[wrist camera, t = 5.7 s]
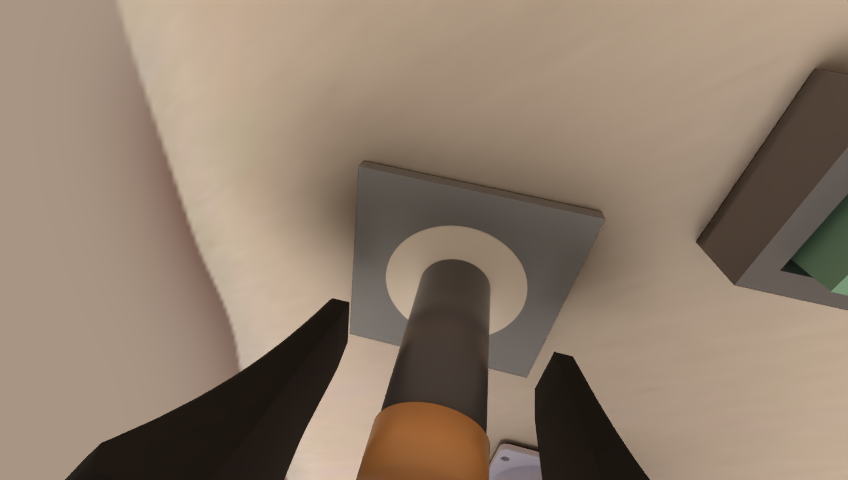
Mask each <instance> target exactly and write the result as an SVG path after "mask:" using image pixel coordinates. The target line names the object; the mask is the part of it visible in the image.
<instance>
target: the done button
mask: <svg viewBox="0 0 848 480" xmlns="http://www.w3.org/2000/svg"><path fill="white" fill-rule="evenodd" d="M791 260H793V261H794V262H795V263H796V264H797V265H799V266H800V267H801V268H802V269H804V270H805V271H806V272H807V273H808V274H810V275H811V276H812V277H813V278H815V279H816V280H817V281H818V282H819V283H821V284H822V285H823V286H824V287H826V288H827V289H828V290H829V291H830V292H834V293H839V294H843V295H848V194H847V195H846V197H845V198H844V199H843V200H842V201H841V202H840V203H839V204H838V206H837V207H836V208H835V209H834V210H833V211H832V212H831V213H830V215H829V216H828V217H827V218H826V219H825V220H824V221H823V222H822V224H821V225H820V226H819V227H818V228H817V229H816V230H815V232H814V233H813V234H812V235H811V236H810V237H809V238H808V239H807V241H806V242H805V243H804V244H803V245H802V246H801V247H800V248H799V250H798V251H797V252H796V253H795V254H794V255H793V256H792V257H791Z"/></svg>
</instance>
